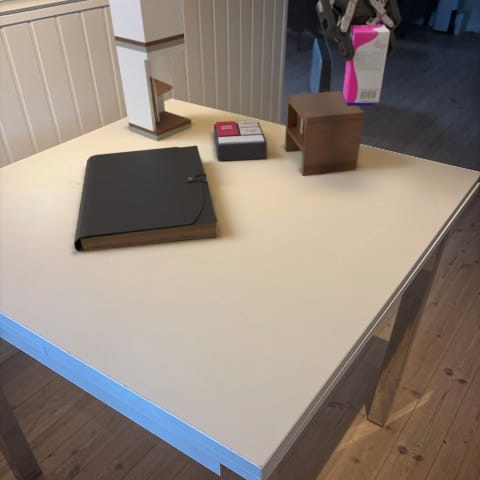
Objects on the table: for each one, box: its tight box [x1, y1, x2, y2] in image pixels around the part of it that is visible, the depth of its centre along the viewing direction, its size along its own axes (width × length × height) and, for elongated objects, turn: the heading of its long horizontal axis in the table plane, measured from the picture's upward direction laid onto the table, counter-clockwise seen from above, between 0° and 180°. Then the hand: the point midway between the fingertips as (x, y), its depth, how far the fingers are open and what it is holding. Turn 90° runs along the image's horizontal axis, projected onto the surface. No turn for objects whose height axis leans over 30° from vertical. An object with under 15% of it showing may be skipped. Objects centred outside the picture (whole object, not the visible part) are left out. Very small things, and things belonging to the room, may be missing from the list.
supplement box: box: [342, 24, 390, 107], centre depth 83 cm, size 6×6×12 cm
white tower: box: [108, 0, 192, 142], centre depth 112 cm, size 11×11×35 cm
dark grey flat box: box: [213, 119, 268, 162], centre depth 113 cm, size 11×4×15 cm
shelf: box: [284, 90, 366, 176], centre depth 105 cm, size 12×14×12 cm
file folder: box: [73, 145, 218, 252], centre depth 94 cm, size 33×4×24 cm
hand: (371, 55), depth 81 cm, fingers closed on supplement box, 7 cm apart
